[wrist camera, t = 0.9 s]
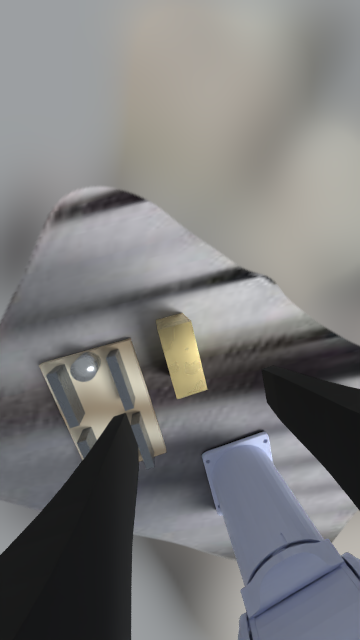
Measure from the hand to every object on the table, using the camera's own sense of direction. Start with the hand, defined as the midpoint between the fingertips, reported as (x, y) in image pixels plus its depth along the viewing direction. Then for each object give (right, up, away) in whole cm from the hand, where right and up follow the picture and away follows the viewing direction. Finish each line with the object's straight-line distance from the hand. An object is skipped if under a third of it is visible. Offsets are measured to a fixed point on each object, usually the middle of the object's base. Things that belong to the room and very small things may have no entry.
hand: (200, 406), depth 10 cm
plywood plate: (-8, -5, +9) cm, 13 cm away
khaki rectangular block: (-1, +2, +9) cm, 10 cm away
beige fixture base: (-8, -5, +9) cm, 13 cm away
